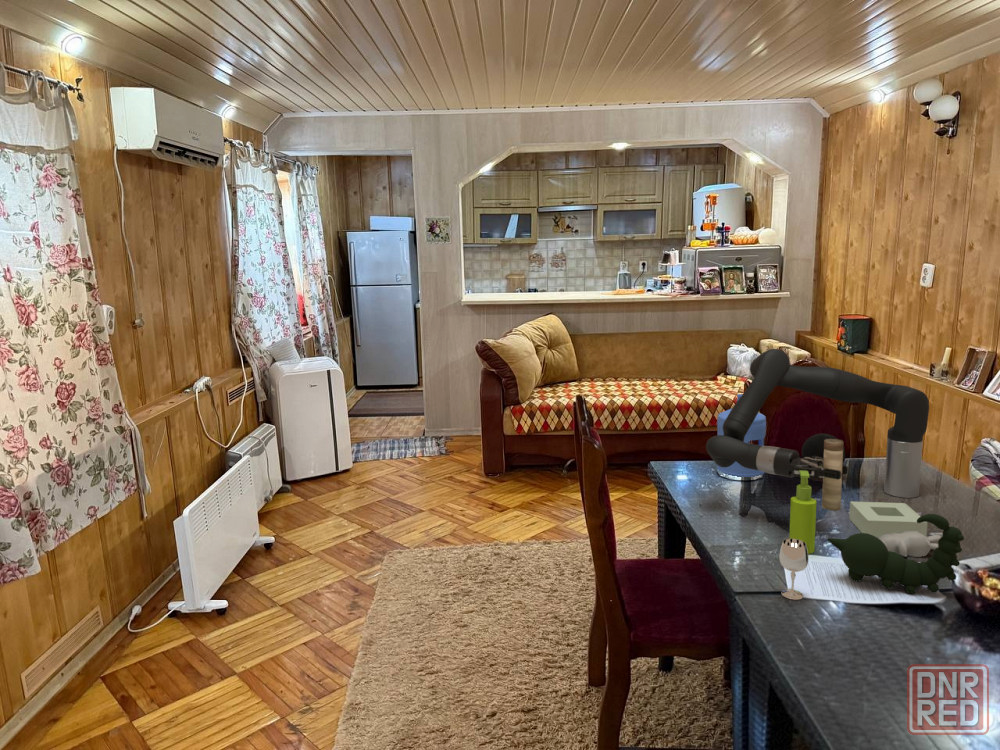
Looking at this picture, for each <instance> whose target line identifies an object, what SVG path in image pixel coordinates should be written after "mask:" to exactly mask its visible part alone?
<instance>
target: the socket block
mask: <svg viewBox="0 0 1000 750" xmlns="http://www.w3.org/2000/svg"><path fill="white" fill-rule="evenodd" d="M848 515H849V516H848V518H849V520H850V522H852V523H853V525H854V524H855V525H854V526H855V527H856V528H857V529H858V530H859V531H860V533H867V534H871V535H873V536H875V537H877V538H878V539H879V538H880V537H881V536H882V535H884V534H890V533H898V534H901V533H903V532H905V531H918V532H919V533H921V534H923V535H924V536H926V537H928V536H927V534H928V523H929V522H921V523H917V519H918V518H919V517H921V516H922V515H920V514H918V513H917V511H914V509H912V508H911V507H910V506H909V505H908V504H907V503H905V502H880V501H879V502H877V501H875V502H874V501H849V514H848Z"/></svg>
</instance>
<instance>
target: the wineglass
mask: <svg viewBox="0 0 1000 750" xmlns="http://www.w3.org/2000/svg"><path fill="white" fill-rule="evenodd" d="M778 558H779V563H780V565H781V567H783V568H784V569H786V570H787V571H789V572H790V579H791V587H790V588H789V589H787V588H786V589H783V590H782V591H781V593H780V594H781V595H782V596H783V597H785V598H787V599H789V600H794V601H795V600H802V599H803V598H804V593H802V592H800V591H798V590H796V589H795V579H796V575H797V574H796V573H799V572H801V571H804V570H805V569H806V568H807V567H808V565H809V554H808V550H807V546H806V543H805V542H803V541H801V540H798V539H789V538H785V539H783V540H782V543H781V546H780V548H779V557H778Z"/></svg>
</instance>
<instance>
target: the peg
mask: <svg viewBox="0 0 1000 750" xmlns="http://www.w3.org/2000/svg"><path fill="white" fill-rule="evenodd" d="M844 443H845V442H844V441H843V439H838V438H837V439H826V440H824V463H823V468H828V469H834V470H839V471H841V478H840V479H833V478H827V477H825V476H824V478H823V483H822V492H821V493H822V495H821V496H822V499H821V507H822V509H823V510H824V509H825V510H827V511H840V510H841V508H842V505H841V504H842V488H843V487H842V484H843V483H842V482H843V474H842V465H843V464H844V462H843V446H844Z"/></svg>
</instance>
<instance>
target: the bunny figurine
mask: <svg viewBox="0 0 1000 750" xmlns="http://www.w3.org/2000/svg"><path fill="white" fill-rule="evenodd" d="M941 537H943V535H942V536H941V535H939V534H933V535H929V536H927V537H926V536H924V535H923V534H921V533H919V532H918V531H905V532H903V533H901V534H898V533H890V534H884V535H882V536H881V537H880V538H879V539H880V540H881V541H882V542H883V543H884V544H885V546H886V547H887V549H888V551H892V552H896V553H898V554H900V555H901V556H902V557H908V556H909V557H915V558H920V557H922V556H923V557H925V556H927V555H928V554H929V552H930V551H931V550H933V551H934V550H935V549H936V548H938V541H939V539H940V538H941ZM935 542H936V543H935Z"/></svg>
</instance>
